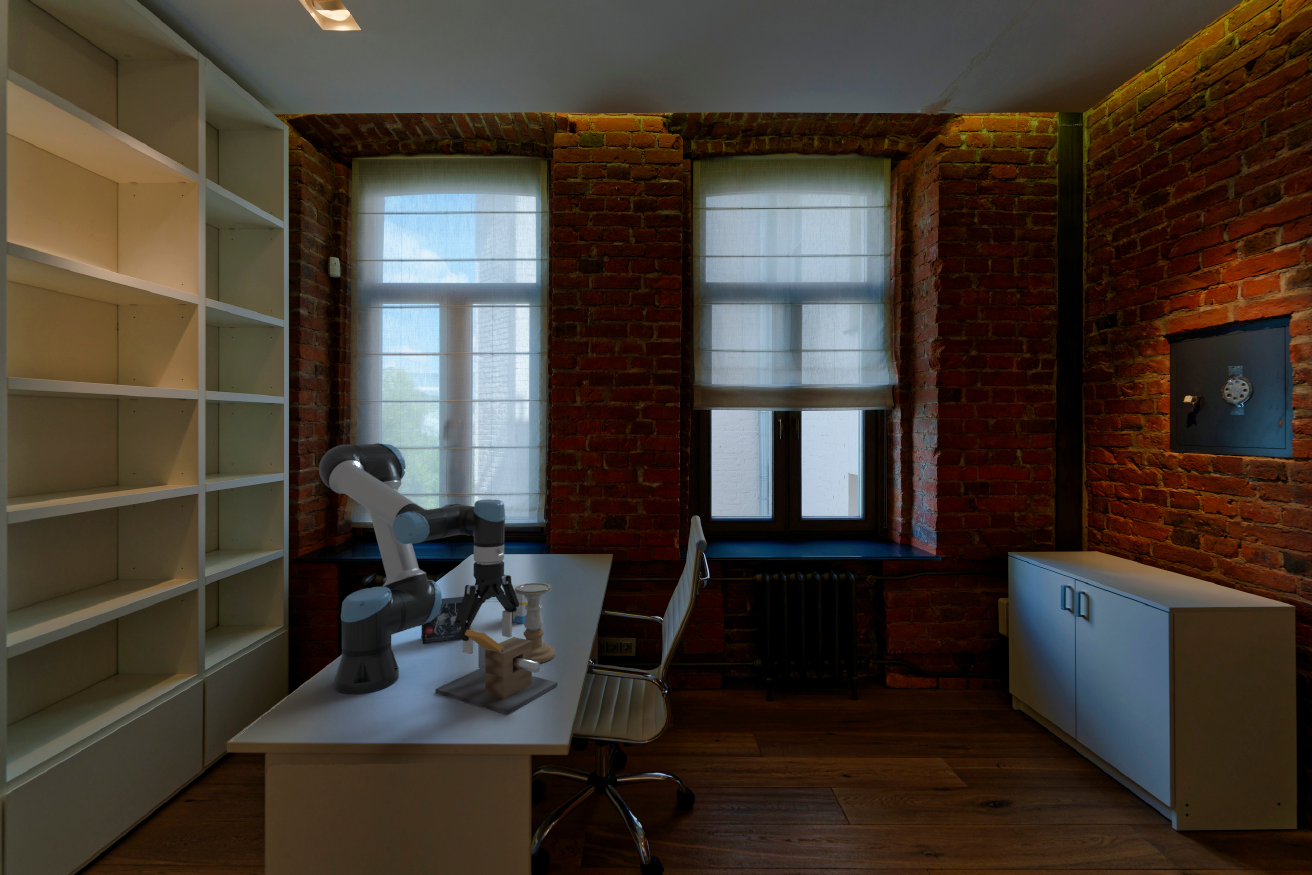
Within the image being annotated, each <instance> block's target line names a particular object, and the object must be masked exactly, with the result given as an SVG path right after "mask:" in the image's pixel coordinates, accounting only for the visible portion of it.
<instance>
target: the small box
mask: <svg viewBox="0 0 1312 875" xmlns="http://www.w3.org/2000/svg"><path fill="white" fill-rule="evenodd" d="M463 597H464V596H457V597H456V596H455V597H454V596H453V597H444V598H443V597H442V604H441V608H440V610H439V613H438V615H437V616H436V617H435V618H434V619H433V620H432V621H430V622H427V623H425V624H423V625H421V636H420V638H421V643H422V645H428V644H435V643H436V644H437V643H444V642H451V641H458V640H460V641H461V627H458V626H455V625H454V622H455V619H456V616H457V614H458V611H459V608H460V605H461V602H462V599H463Z"/></svg>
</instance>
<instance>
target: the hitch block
mask: <svg viewBox="0 0 1312 875" xmlns="http://www.w3.org/2000/svg"><path fill="white" fill-rule="evenodd" d="M497 643H498V644H500V645H501V646H502V647H503V648H504V652H499V651H495V650H490V649H485V670H484V669H481V668H478V669H476V670H473V671H472V672H469V673H466V674H465V675H463V676H461V677H459V678H456V679H455V680H452V681H450V682H448V683H446V684H443V685H442V686H439V687H437V688H435V692H434V693H435V694H438V695H441V696H444V697H448V698H451V699H455V700H457V701H460V702H464V703H467V704H471V705H474V706H477V707H481V708H484V709H488V710H489V711H490V710H491V711H494V712H497V713H500V714H503V715H506V716H507V715H510V714H511V713H514V712H515V711H517V710H518V709H520V708H522V707H524V706H525V705H527V704H529V703H531V702H532V701H535V700H536V699H538V698H539V697H541V696H543V695H544V694H547V693H548V692H550V691H551V690H554V689H555V688H557V687H558V681H554V680H549V679H547V678H546V679H545V678H542V677H539V676H534V675H533V672H530V671H526V670H522V669H518V668H514V667H513V658H514V657H517V658H521V659H525V660H530V661H532V641H530V640H526V638H525V639H524V638H520V637H515V636H512V637H510V638H508V639H505V640H503V641H501V642H497Z"/></svg>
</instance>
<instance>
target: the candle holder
mask: <svg viewBox="0 0 1312 875" xmlns="http://www.w3.org/2000/svg"><path fill="white" fill-rule="evenodd" d="M526 583H527V584H522V585H519V586H517V587H516V588H515V592H516V593H518V594H521V595H524V596H525V597H526V598H527V601H528V603H527V605H526V606H525V609H526V610H527V614H526V619H525V622H524V624H523V626H524V628H525V630H524V632H523V636H524V637H525V640H530V641H532V661H534V662H538V663H539V664H542V663H546V662H548V661H551V660H552V659H554V657H555V656H556V650H555V648H554V647H553V646H550V645H549V644H547V643H545V642H543V638H542V637H543V635H544V634H545V630H543V629H542V628H543V626H544V620H543V617H542V614H541V613H542V612H541V609H543V605H542V603H541V601H540V600H541V597H543V595H546V594H547V593H550V592H551V591H552V585H551V584H550V583H545V582H544V583H543V582H526Z"/></svg>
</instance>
